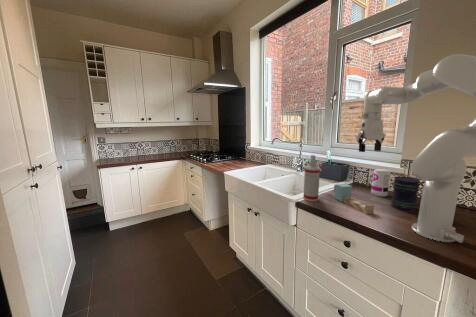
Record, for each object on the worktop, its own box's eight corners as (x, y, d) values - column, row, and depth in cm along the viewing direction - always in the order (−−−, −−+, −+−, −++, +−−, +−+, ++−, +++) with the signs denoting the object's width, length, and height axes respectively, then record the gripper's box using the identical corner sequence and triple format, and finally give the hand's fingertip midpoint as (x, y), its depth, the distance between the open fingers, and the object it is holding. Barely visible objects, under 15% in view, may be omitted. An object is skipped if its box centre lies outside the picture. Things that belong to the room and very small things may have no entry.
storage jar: (420, 212, 98) (425, 182, 95) (396, 210, 100) (401, 181, 97) (407, 204, 108) (411, 176, 105) (386, 203, 110) (390, 175, 107)
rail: (373, 213, 98) (375, 198, 96) (366, 214, 97) (367, 199, 95) (339, 196, 120) (340, 184, 118) (333, 197, 119) (334, 184, 117)
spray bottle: (300, 198, 117) (302, 155, 113) (308, 195, 122) (310, 153, 117) (312, 202, 111) (315, 156, 107) (320, 199, 116) (323, 155, 111)
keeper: (350, 200, 113) (352, 186, 111) (341, 201, 111) (342, 187, 110) (344, 197, 117) (345, 183, 116) (334, 198, 116) (335, 184, 115)
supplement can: (373, 196, 120) (376, 171, 117) (369, 191, 127) (371, 168, 125) (389, 197, 117) (393, 172, 115) (384, 192, 125) (387, 168, 122)
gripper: (364, 116, 96) (361, 152, 98) (393, 116, 100) (390, 151, 102) (351, 117, 103) (349, 151, 105) (379, 117, 107) (376, 150, 109)
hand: (369, 151), depth 104 cm, fingers open, 9 cm apart
